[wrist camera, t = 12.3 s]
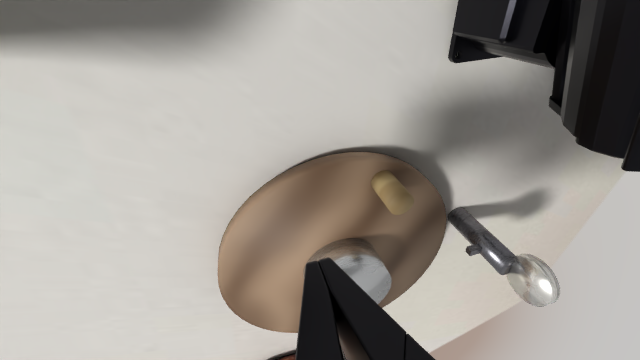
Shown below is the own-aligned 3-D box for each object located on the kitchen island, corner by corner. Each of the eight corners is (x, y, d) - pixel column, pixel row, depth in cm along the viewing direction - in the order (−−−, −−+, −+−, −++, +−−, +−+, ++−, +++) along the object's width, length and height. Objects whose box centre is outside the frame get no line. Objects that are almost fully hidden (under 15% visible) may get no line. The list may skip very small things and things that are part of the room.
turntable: (476, 171, 26) (516, 201, 22) (383, 313, 36) (400, 349, 32) (242, 127, 18) (247, 162, 14) (204, 326, 28) (200, 377, 24)
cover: (388, 240, 26) (405, 266, 23) (357, 291, 29) (369, 319, 26) (319, 234, 23) (330, 263, 20) (292, 291, 26) (299, 322, 23)
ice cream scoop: (469, 197, 29) (569, 283, 20) (460, 226, 31) (547, 313, 23) (442, 204, 28) (533, 295, 20) (435, 233, 31) (514, 325, 22)
